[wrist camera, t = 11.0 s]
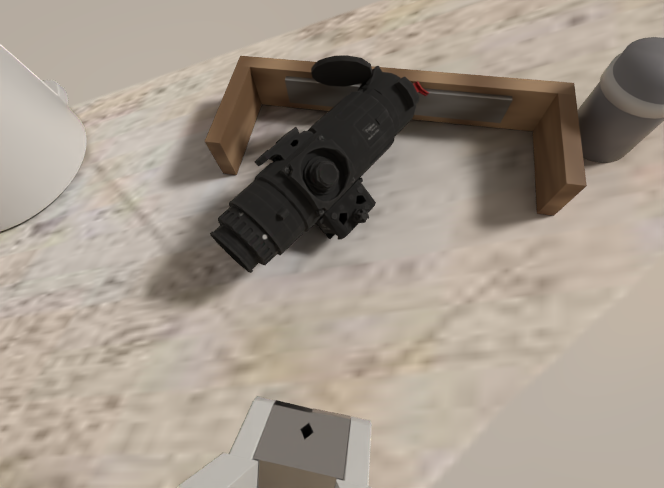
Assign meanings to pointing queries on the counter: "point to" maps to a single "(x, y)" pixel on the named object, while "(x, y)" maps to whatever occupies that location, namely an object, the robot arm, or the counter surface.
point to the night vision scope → (320, 165)
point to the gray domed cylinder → (624, 102)
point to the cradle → (419, 114)
